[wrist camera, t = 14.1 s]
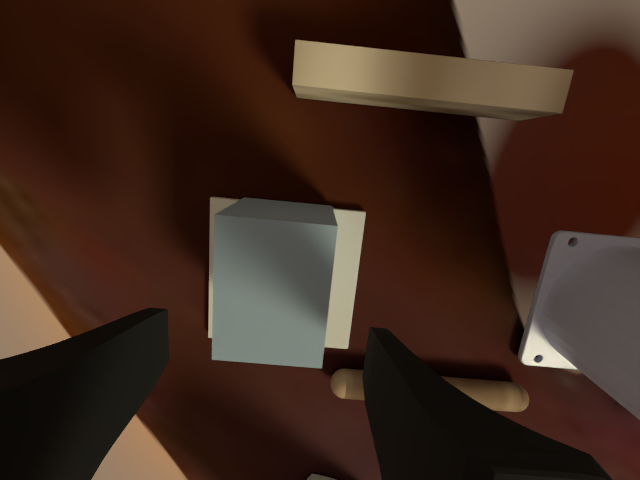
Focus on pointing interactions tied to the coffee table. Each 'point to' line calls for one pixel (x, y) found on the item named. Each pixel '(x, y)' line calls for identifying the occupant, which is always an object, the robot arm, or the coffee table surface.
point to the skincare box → (318, 477)
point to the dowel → (482, 391)
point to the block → (272, 281)
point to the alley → (427, 82)
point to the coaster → (341, 278)
